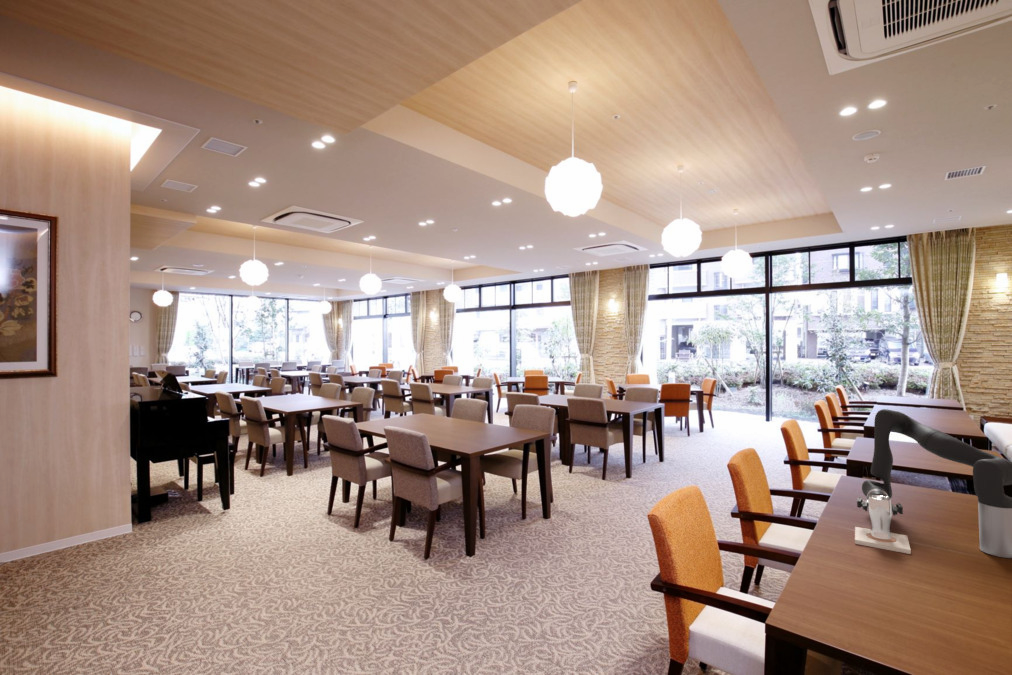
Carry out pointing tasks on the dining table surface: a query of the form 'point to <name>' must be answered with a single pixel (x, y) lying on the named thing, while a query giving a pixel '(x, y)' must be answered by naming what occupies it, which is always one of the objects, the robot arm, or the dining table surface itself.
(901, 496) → the dining table surface
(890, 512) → the shiny silver metal cup
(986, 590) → the dining table surface
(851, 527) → the dining table surface
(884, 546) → the ceramic tile
